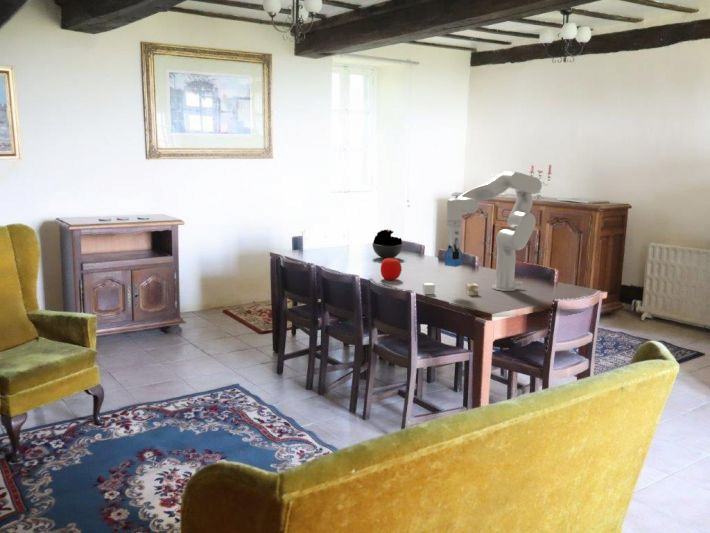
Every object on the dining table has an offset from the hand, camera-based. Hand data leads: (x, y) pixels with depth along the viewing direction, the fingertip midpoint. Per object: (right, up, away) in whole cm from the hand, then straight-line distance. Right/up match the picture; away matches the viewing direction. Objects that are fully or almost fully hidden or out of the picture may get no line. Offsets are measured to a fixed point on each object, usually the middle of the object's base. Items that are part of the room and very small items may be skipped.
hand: (453, 257), depth 322 cm
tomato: (-30, -12, +33) cm, 46 cm away
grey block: (-12, -18, +2) cm, 22 cm away
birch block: (+10, -19, +3) cm, 21 cm away
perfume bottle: (0, -4, +1) cm, 4 cm away
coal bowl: (-28, 0, +97) cm, 101 cm away
